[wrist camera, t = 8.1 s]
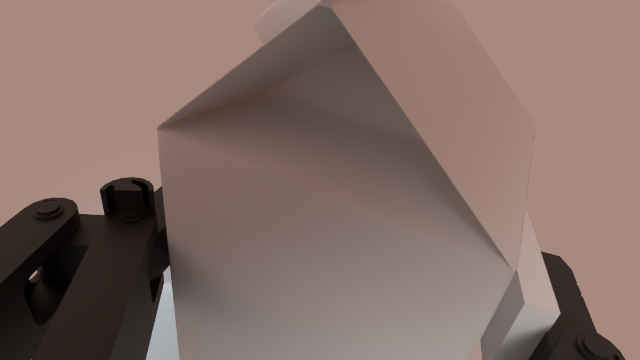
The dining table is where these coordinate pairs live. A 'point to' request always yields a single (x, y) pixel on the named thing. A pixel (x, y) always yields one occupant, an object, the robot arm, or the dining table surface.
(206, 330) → the milk carton
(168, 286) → the dining table surface
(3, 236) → the robot arm
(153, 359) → the dining table surface
